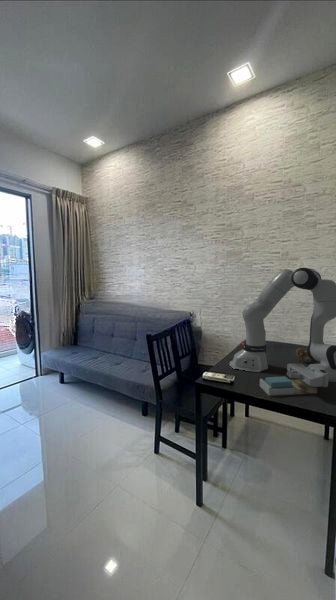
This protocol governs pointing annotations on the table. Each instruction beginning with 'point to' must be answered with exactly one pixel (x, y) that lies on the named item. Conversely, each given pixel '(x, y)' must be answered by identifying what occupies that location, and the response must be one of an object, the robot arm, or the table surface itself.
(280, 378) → the teal block
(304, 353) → the lion figurine
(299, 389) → the birch plate
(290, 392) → the box
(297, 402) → the table surface
